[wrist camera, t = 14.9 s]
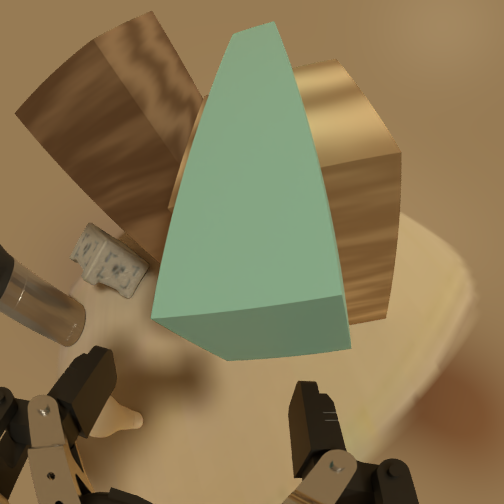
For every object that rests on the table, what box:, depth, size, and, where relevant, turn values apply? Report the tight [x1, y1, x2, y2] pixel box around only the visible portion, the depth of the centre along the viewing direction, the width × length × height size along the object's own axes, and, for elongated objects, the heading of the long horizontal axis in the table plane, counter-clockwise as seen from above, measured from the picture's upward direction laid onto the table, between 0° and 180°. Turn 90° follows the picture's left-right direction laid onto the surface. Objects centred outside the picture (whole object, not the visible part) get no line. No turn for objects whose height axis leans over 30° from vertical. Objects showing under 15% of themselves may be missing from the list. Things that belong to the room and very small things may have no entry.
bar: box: [151, 22, 351, 361], centre depth 14 cm, size 26×4×4 cm, turn 179°
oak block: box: [168, 59, 401, 325], centre depth 25 cm, size 14×12×22 cm
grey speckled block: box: [70, 223, 149, 298], centre depth 43 cm, size 10×8×10 cm
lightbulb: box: [89, 395, 143, 438], centre depth 27 cm, size 6×6×11 cm
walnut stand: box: [15, 11, 203, 264], centre depth 29 cm, size 12×10×32 cm
